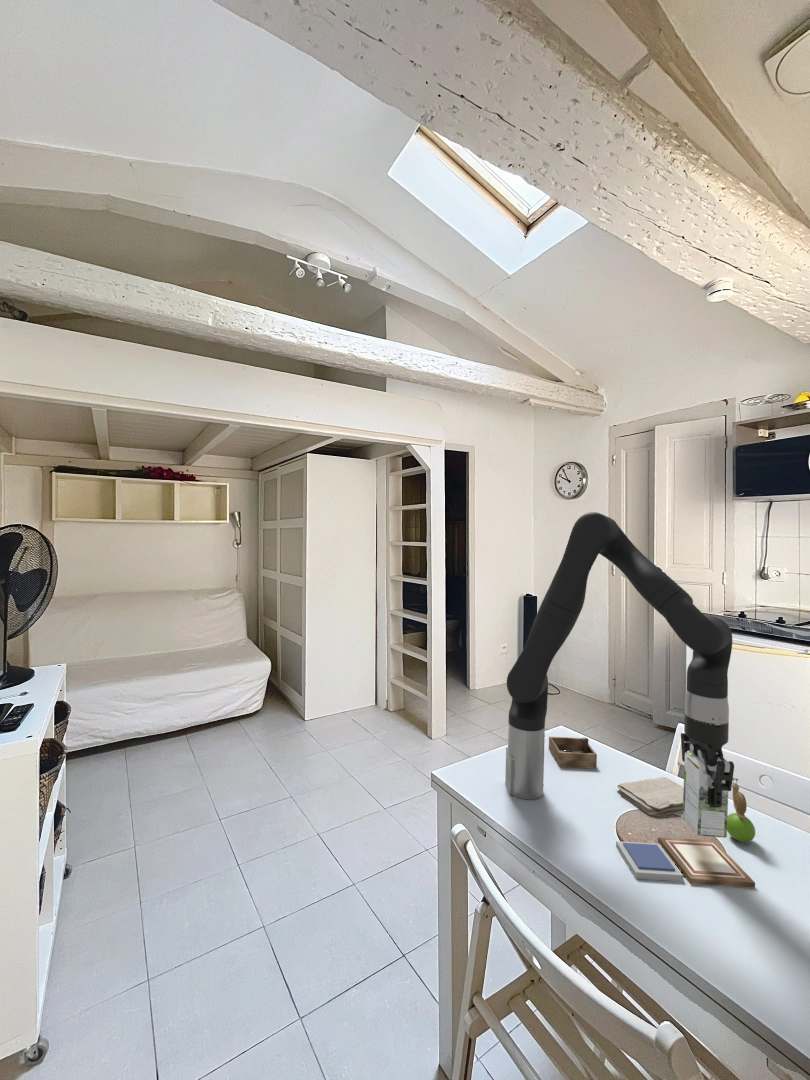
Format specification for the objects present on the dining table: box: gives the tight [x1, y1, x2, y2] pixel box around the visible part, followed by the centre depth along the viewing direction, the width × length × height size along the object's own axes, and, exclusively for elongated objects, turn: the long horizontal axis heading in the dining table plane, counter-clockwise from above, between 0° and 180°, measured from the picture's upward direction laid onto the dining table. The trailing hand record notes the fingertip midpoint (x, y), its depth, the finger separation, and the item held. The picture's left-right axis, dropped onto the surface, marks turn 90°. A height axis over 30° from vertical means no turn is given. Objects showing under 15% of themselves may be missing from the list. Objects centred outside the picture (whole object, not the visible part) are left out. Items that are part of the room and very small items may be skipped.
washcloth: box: [616, 776, 684, 817], centre depth 115 cm, size 12×18×3 cm, turn 109°
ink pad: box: [615, 840, 684, 882], centre depth 91 cm, size 9×9×2 cm
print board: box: [657, 836, 756, 889], centre depth 91 cm, size 12×12×1 cm
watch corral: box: [548, 736, 598, 769], centre depth 135 cm, size 11×11×4 cm
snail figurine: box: [727, 777, 756, 843], centre depth 100 cm, size 5×6×12 cm
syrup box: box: [682, 751, 729, 838], centre depth 92 cm, size 6×6×14 cm
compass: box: [562, 737, 589, 753], centre depth 134 cm, size 8×8×7 cm
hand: (704, 796), depth 92 cm, fingers closed on syrup box, 6 cm apart
